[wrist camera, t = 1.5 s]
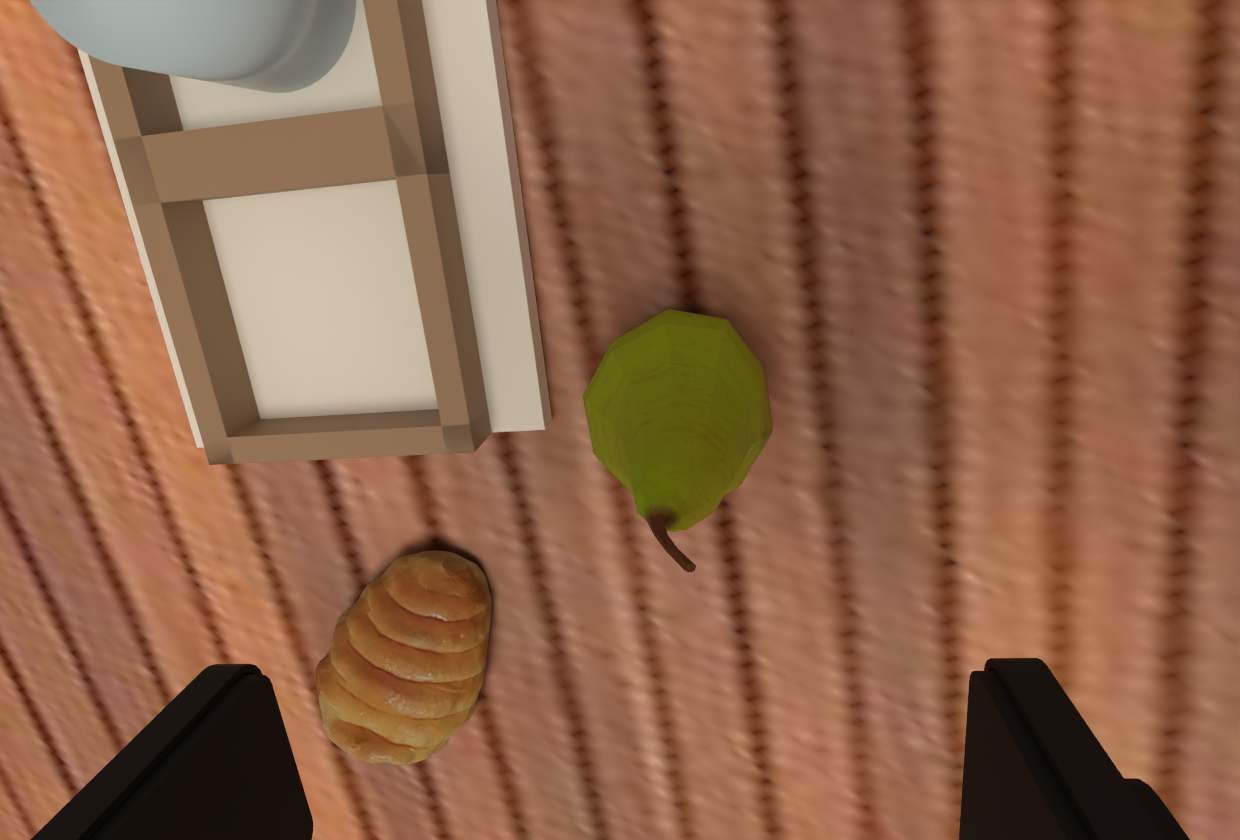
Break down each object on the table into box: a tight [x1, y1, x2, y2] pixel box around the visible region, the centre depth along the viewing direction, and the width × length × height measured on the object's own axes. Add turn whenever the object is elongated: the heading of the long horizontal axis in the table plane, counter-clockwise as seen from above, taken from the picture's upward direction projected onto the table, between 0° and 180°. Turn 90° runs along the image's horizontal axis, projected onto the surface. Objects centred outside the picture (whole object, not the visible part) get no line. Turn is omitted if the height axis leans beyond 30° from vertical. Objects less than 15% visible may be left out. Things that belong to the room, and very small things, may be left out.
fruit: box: [583, 309, 772, 572], centre depth 21 cm, size 6×6×12 cm
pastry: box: [316, 550, 492, 765], centre depth 30 cm, size 9×7×4 cm
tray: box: [78, 0, 552, 465], centre depth 24 cm, size 14×20×3 cm
